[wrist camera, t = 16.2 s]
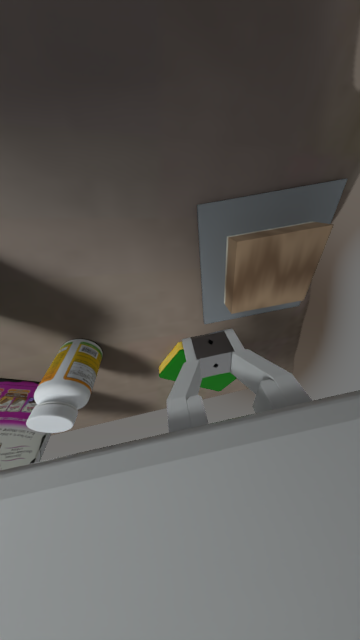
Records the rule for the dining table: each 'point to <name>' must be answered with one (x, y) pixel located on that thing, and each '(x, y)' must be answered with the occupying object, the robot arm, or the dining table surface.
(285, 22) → the dining table surface
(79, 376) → the supplement bottle
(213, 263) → the mat
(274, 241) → the slab
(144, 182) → the dining table surface
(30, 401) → the candy bar box
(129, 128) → the dining table surface
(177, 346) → the dish sponge
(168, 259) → the dining table surface
